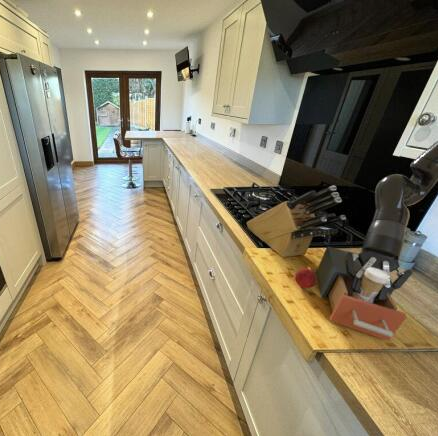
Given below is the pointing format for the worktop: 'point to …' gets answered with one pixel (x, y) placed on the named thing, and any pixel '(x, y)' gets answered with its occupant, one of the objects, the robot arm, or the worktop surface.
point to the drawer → (363, 311)
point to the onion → (305, 278)
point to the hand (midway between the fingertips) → (366, 295)
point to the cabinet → (334, 269)
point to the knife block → (296, 222)
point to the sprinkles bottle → (371, 284)
